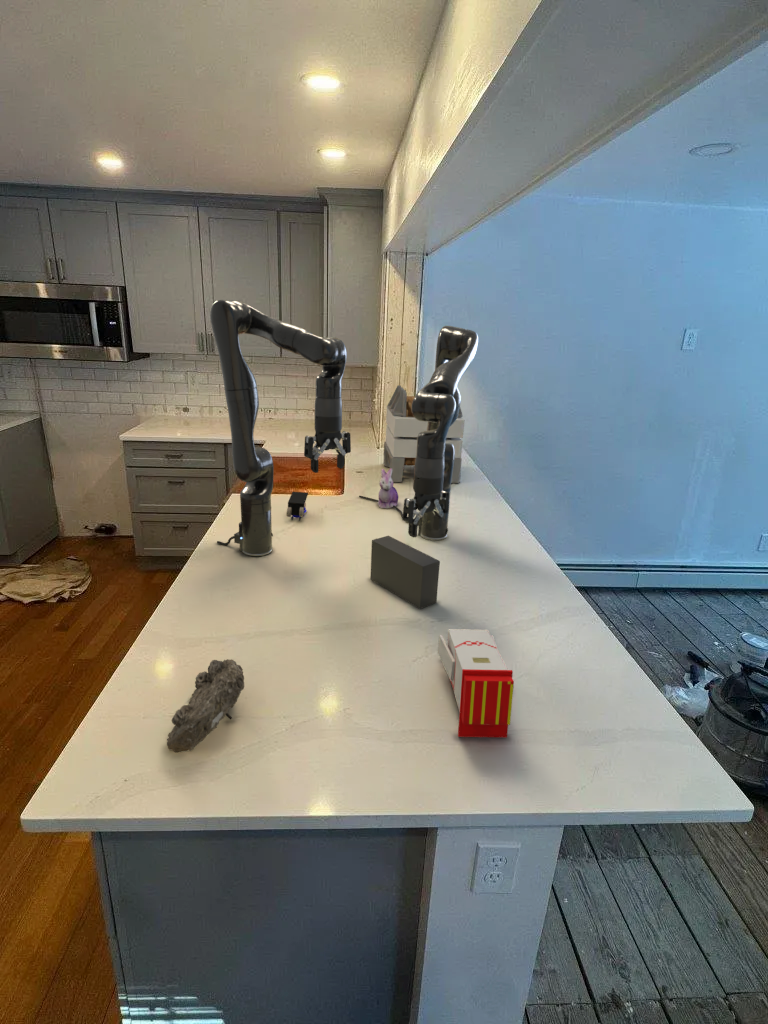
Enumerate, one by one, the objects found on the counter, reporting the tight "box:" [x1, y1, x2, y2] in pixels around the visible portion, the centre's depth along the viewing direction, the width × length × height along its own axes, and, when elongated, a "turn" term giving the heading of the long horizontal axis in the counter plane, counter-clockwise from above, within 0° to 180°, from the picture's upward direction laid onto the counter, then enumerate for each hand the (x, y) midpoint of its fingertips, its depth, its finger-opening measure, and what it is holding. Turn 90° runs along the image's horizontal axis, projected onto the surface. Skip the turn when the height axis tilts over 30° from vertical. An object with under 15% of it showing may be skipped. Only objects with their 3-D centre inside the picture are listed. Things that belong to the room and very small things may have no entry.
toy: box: [437, 628, 515, 738], centre depth 117 cm, size 12×13×30 cm
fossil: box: [166, 658, 245, 754], centre depth 106 cm, size 22×10×15 cm
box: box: [369, 535, 441, 610], centre depth 158 cm, size 21×6×12 cm, turn 40°
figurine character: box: [286, 491, 309, 522], centre depth 211 cm, size 7×8×15 cm
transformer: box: [383, 384, 465, 484], centre depth 268 cm, size 34×33×41 cm
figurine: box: [377, 467, 399, 509], centre depth 226 cm, size 9×10×15 cm
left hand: (327, 470), depth 162 cm, fingers open, 8 cm apart
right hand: (424, 532), depth 148 cm, fingers open, 8 cm apart
